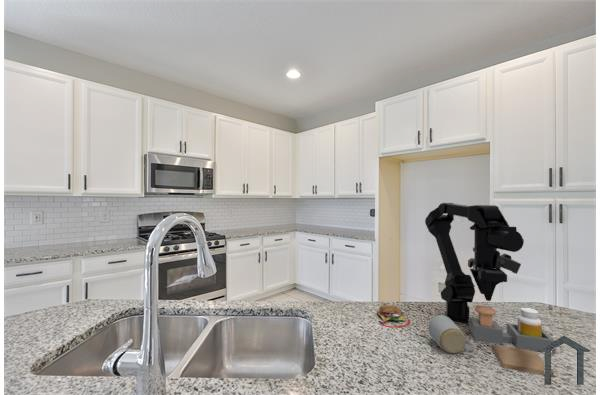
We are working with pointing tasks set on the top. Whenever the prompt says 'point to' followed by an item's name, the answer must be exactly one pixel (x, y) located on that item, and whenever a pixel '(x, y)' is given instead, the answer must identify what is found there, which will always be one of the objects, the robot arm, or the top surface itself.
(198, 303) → the top surface
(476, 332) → the divided tray
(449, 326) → the grey cylindrical canister
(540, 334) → the supplement bottle
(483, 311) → the tan stopper
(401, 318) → the hamburger
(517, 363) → the walnut pad
